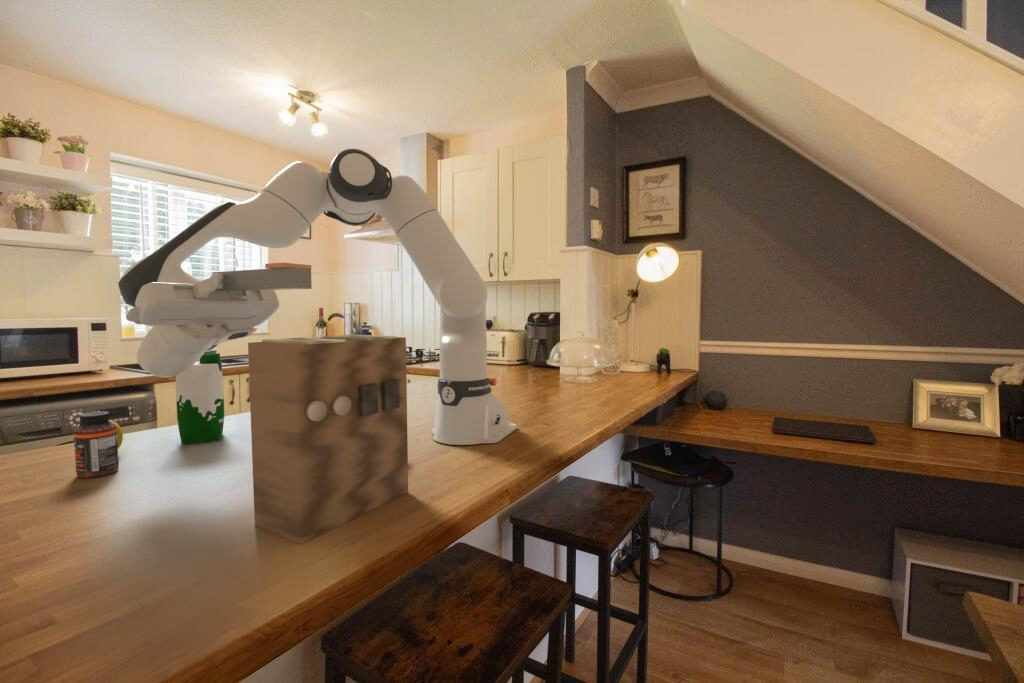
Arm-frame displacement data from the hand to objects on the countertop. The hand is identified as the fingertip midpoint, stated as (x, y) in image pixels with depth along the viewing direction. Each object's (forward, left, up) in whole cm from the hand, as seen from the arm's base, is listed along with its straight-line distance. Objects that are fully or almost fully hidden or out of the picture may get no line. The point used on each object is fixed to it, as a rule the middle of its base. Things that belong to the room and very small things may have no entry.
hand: (235, 278), depth 73 cm
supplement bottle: (+7, -35, -35) cm, 50 cm away
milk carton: (-15, -43, -35) cm, 58 cm away
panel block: (-5, +16, -35) cm, 39 cm away
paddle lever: (0, +6, -2) cm, 7 cm away
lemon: (+2, -46, -35) cm, 58 cm away
